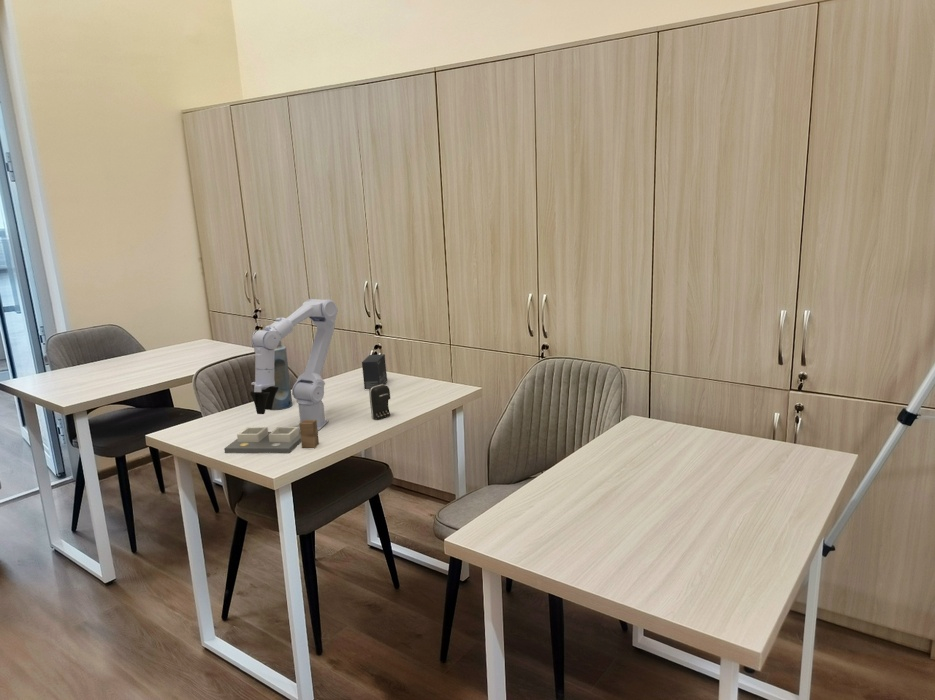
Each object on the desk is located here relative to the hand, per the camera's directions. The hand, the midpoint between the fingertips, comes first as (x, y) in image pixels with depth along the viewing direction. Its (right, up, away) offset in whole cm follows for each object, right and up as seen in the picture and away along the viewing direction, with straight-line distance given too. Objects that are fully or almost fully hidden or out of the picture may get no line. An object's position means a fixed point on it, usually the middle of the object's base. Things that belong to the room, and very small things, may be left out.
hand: (264, 411), depth 207 cm
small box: (+26, +4, +67) cm, 72 cm away
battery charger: (+34, -5, +24) cm, 42 cm away
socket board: (0, -11, +3) cm, 11 cm away
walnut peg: (+15, -11, -1) cm, 18 cm away
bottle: (-8, -2, +44) cm, 45 cm away
